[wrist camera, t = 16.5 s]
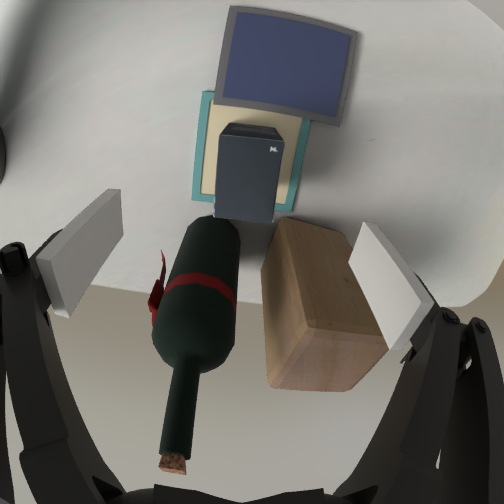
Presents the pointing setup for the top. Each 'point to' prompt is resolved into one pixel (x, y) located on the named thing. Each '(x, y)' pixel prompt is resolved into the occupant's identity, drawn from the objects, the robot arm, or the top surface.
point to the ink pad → (284, 64)
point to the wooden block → (315, 312)
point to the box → (248, 172)
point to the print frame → (220, 116)
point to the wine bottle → (194, 325)
